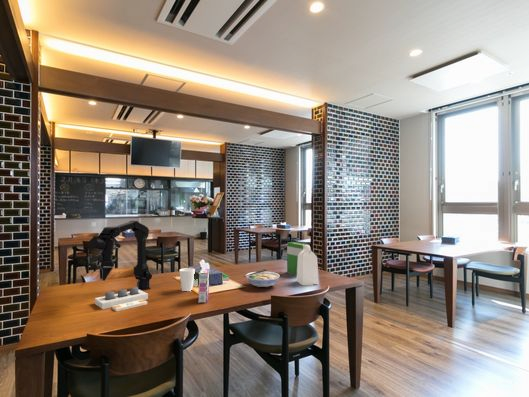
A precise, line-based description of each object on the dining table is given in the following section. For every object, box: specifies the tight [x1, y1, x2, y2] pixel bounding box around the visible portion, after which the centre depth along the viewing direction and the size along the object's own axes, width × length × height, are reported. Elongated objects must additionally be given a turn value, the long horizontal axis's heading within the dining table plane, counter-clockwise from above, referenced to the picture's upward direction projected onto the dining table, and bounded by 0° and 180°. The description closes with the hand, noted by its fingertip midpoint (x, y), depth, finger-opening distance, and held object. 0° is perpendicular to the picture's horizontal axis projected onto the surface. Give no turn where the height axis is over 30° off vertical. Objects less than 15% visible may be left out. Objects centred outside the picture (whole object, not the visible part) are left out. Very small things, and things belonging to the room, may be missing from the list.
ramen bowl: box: [243, 268, 281, 288], centre depth 201 cm, size 25×23×8 cm
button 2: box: [129, 286, 138, 295], centre depth 173 cm, size 4×4×4 cm
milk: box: [296, 244, 319, 286], centre depth 211 cm, size 12×12×26 cm
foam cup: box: [179, 267, 196, 292], centre depth 190 cm, size 10×9×13 cm
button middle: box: [117, 288, 128, 298], centre depth 168 cm, size 4×4×4 cm
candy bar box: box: [197, 268, 210, 304], centre depth 172 cm, size 11×5×16 cm, turn 5°
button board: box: [94, 290, 149, 310], centre depth 168 cm, size 24×12×3 cm, turn 135°
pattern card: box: [111, 299, 148, 312], centre depth 161 cm, size 16×6×1 cm, turn 135°
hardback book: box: [286, 241, 310, 276], centre depth 238 cm, size 18×7×24 cm, turn 35°
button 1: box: [104, 291, 115, 300], centre depth 164 cm, size 4×4×4 cm
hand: (102, 279), depth 162 cm, fingers open, 9 cm apart
